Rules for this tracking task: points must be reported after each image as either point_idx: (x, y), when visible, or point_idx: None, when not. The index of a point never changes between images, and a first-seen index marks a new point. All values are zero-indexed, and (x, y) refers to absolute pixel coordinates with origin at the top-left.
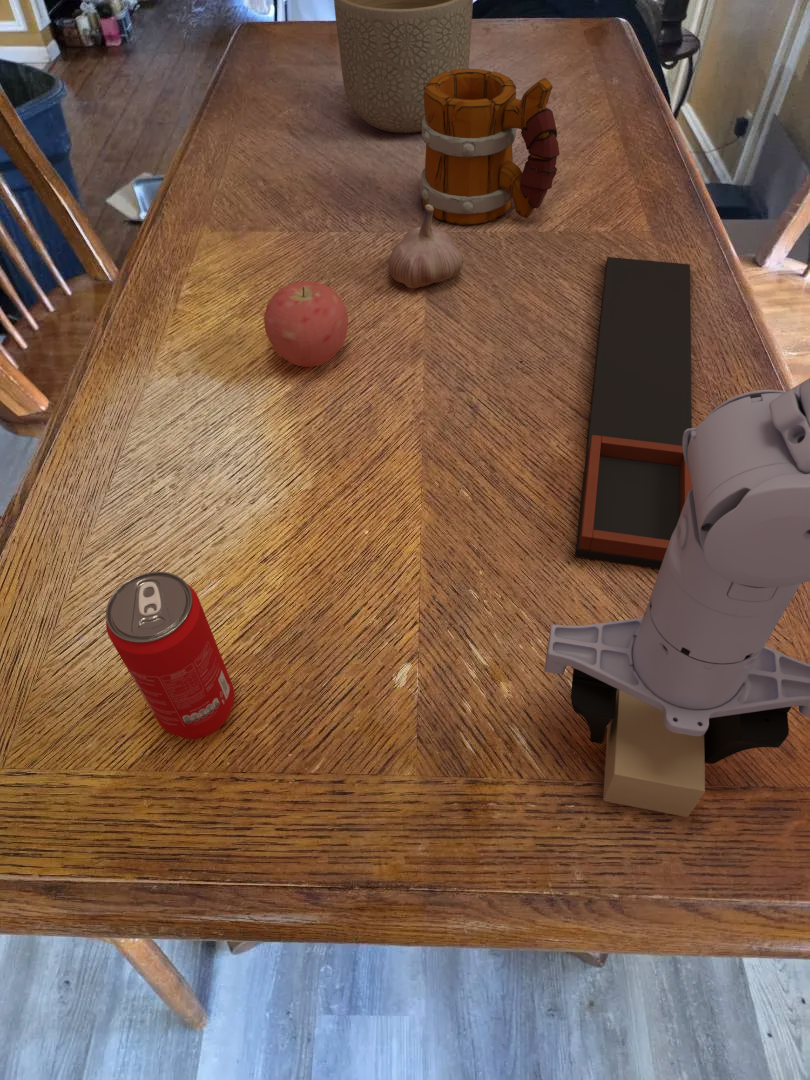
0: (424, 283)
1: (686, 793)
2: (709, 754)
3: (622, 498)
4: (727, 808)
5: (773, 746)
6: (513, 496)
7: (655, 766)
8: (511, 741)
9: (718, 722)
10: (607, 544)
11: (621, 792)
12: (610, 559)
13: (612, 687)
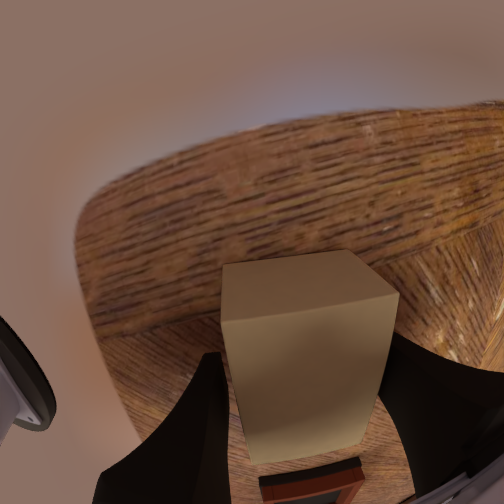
0: (415, 498)
1: (251, 303)
2: (217, 374)
3: (319, 495)
4: (169, 294)
5: (107, 487)
6: (395, 461)
7: (325, 335)
8: (442, 285)
9: (220, 431)
10: (341, 481)
11: (346, 267)
12: (330, 467)
13: (473, 451)
